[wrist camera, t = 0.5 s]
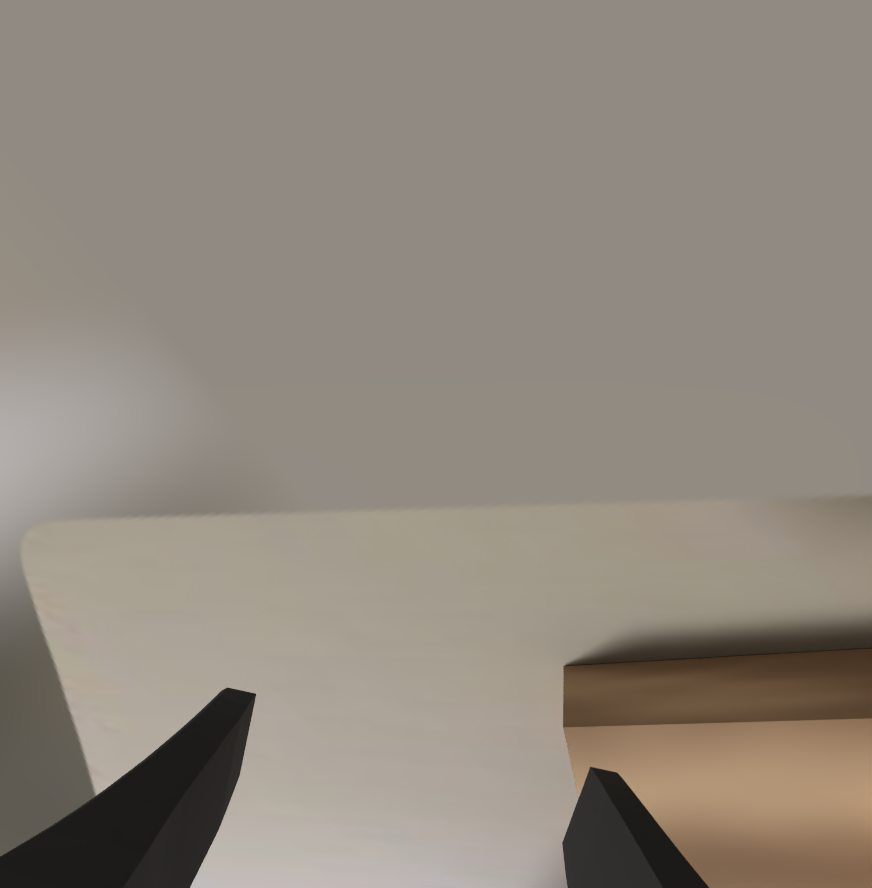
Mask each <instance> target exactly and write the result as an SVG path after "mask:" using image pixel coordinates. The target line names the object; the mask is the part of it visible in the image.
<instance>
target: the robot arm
mask: <svg viewBox="0 0 872 888" xmlns="http://www.w3.org/2000/svg"><path fill="white" fill-rule="evenodd" d="M255 697H256V694H254V693H250V692H245V691H240V690H236V689H231V688H226V689H224V690H222V691H221V692H220V693H219V694H218V695H217V696H216V697H215V698H214V699H213V700H212V701H211V702H210V703H209V704H208V705H206V706H205V707H204V708H203V709H202V710H201V711H200V712H199V713H198V714H197V715H196V716H195V717H194V718H193V719H191V720H190V721H189V722H188V723H187V724H186V725H185V726H184V727H182V728H181V729H180V730H179V731H178V732H177V733H176V734H174V735H173V736H172V737H171V738H170V739H169V740H167V741H166V742H165V743H164V744H163V745H161V746H160V747H159V748H158V749H157V750H155V751H154V752H153V753H152V754H151V755H149V756H148V757H147V758H146V759H144V760H143V761H142V762H141V763H139V764H138V765H137V766H135V767H134V768H133V769H131V770H130V771H129V772H128V773H126V774H125V775H124V776H122V777H121V778H120V779H118V780H117V781H116V782H114V783H113V784H112V785H111V786H109V787H108V788H106V789H105V790H104V791H102V792H101V793H100V794H98V795H97V796H95V797H94V798H92V799H91V800H90V801H88V802H87V803H85V804H84V805H82V806H81V807H80V808H78V809H77V810H75V811H74V812H72V813H70V814H69V815H67V816H66V817H64V818H63V819H61V820H60V821H58V822H57V823H55V824H54V825H52V826H50V827H49V828H47V829H46V830H44V831H42V832H41V833H39V834H38V835H36V836H34V837H32V838H31V839H29V840H28V841H26V842H24V843H22V844H21V845H19V846H18V847H16V848H14V849H12V850H11V851H9V852H8V853H6V854H4V855H2V856H0V888H190V886H191V884H192V882H193V880H194V878H195V876H196V874H197V872H198V870H199V868H200V866H201V864H202V862H203V860H204V858H205V856H206V854H207V852H208V850H209V848H210V846H211V844H212V842H213V840H214V838H215V836H216V834H217V832H218V830H219V827H220V825H221V822H222V820H223V817H224V815H225V812H226V810H227V807H228V804H229V802H230V799H231V797H232V794H233V791H234V789H235V786H236V783H237V781H238V778H239V775H240V771H241V766H242V761H243V756H244V751H245V746H246V741H247V736H248V731H249V726H250V722H251V717H252V712H253V707H254V702H255ZM563 852H564V861H565V870H566V878H567V886H568V888H709V887H708V885H707V884H706V883H705V882H704V881H703V879H702V878H701V877H700V876H699V875H698V873H697V872H696V871H695V870H694V868H693V867H692V866H691V865H690V863H689V862H688V861H687V860H686V859H685V857H684V856H683V855H682V854H681V852H680V851H679V850H678V849H677V847H676V846H675V845H674V843H673V842H672V841H671V840H670V838H669V837H668V836H667V835H666V833H665V832H664V831H663V829H662V828H661V827H660V826H659V824H658V823H657V822H656V820H655V819H654V818H653V817H652V815H651V814H650V813H649V811H648V810H647V809H646V807H645V806H644V805H643V804H642V802H641V801H640V800H639V798H638V797H637V796H636V795H635V793H634V792H633V791H632V790H631V788H630V787H629V786H628V785H627V783H626V782H625V781H624V780H623V778H622V777H621V776H620V775H619V774H618V773H617V772H613V771H608V770H603V769H599V768H594V767H590V769H589V772H588V774H587V777H586V780H585V783H584V785H583V788H582V791H581V794H580V796H579V799H578V802H577V805H576V807H575V810H574V813H573V816H572V818H571V821H570V824H569V827H568V829H567V832H566V835H565V838H564V840H563Z"/></svg>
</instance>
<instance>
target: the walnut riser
mask: <svg viewBox="0 0 872 888" xmlns="http://www.w3.org/2000/svg"><path fill="white" fill-rule="evenodd" d="M563 728H564V733H565V738H566V742H567V747H568V751H569V756H570V761H571V765H572V770H573V774H574V779H575V784H576V788H577V793H578V798H579V796H580V794H581V791H582V788H583V785H584V783H585V780H586V777H587V774H588V772H589V769H590V767H594V768H599V769H603V770H608V771H613V772H617V773H618V774H619V775H620V776H621V777H622V778H623V780H624V781H625V782H626V783H627V785H628V786H629V787H630V788H631V790H632V791H633V792H634V793H635V795H636V796H637V797H638V798H639V800H640V801H641V802H642V804H643V805H644V806H645V807H646V809H647V810H648V811H649V813H650V814H651V815H652V817H653V818H654V819H655V820H656V822H657V823H658V824H659V826H660V827H661V828H662V829H663V831H664V832H665V833H666V835H667V836H668V837H669V838H670V840H671V841H672V842H673V843H674V845H675V846H676V847H677V849H678V850H679V851H680V852H681V854H682V855H683V856H684V857H685V859H686V860H687V861H688V862H689V863H690V865H691V866H692V867H693V868H694V870H695V871H696V872H697V873H698V875H699V876H700V877H701V878H702V879H703V881H704V882H705V883H706V884H707V885H708V887H709V888H872V648H869V649H852V650H835V651H817V652H800V653H783V654H766V655H749V656H732V657H714V658H697V659H680V660H663V661H646V662H629V663H612V664H594V665H577V666H564V703H563Z"/></svg>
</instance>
